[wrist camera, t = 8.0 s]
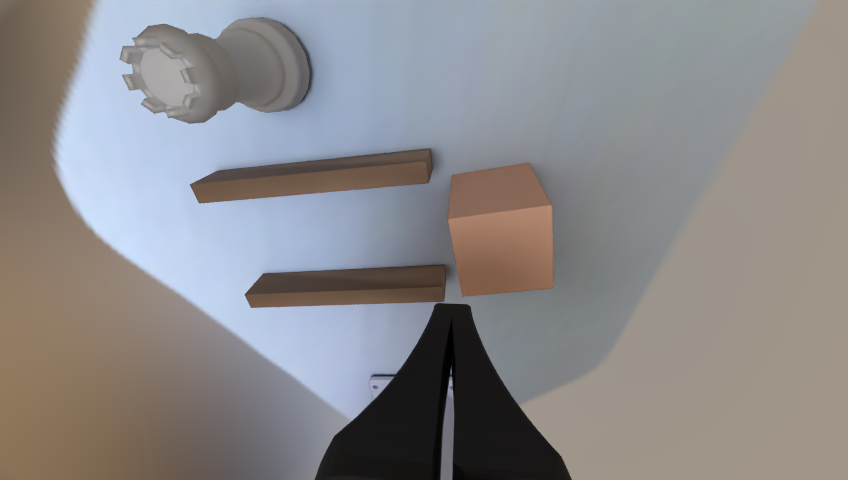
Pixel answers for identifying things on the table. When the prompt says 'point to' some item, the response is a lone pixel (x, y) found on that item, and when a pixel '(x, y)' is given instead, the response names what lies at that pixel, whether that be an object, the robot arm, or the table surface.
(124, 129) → the table surface
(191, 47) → the rook chess piece
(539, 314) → the table surface
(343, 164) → the walnut channel
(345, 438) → the robot arm
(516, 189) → the terracotta block
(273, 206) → the table surface
